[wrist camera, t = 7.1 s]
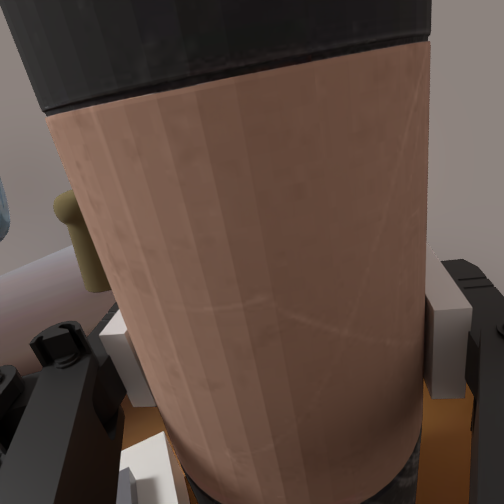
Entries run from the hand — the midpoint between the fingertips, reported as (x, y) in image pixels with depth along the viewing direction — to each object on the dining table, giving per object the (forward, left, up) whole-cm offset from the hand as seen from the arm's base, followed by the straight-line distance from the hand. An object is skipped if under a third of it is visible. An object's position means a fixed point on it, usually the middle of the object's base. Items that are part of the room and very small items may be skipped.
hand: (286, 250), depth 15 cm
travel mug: (+4, -3, -11) cm, 12 cm away
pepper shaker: (-30, -10, -11) cm, 33 cm away
